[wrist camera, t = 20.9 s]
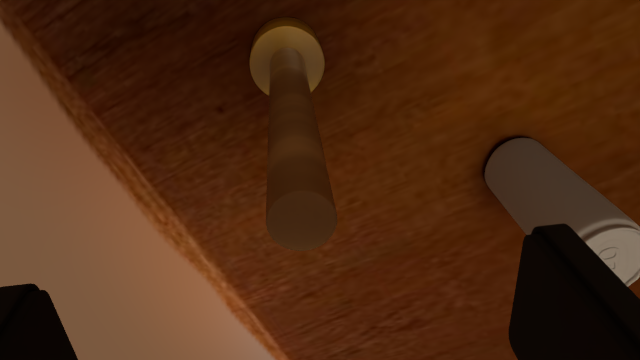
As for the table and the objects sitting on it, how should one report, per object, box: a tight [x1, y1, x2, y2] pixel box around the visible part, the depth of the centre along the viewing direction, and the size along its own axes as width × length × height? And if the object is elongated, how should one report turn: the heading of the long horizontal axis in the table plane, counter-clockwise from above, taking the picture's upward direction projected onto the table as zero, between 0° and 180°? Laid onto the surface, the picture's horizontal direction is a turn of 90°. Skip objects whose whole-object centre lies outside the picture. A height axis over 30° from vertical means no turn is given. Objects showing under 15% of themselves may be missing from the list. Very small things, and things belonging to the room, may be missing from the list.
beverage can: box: [484, 138, 640, 287], centre depth 31 cm, size 5×5×12 cm
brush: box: [249, 17, 337, 251], centre depth 23 cm, size 4×4×20 cm
